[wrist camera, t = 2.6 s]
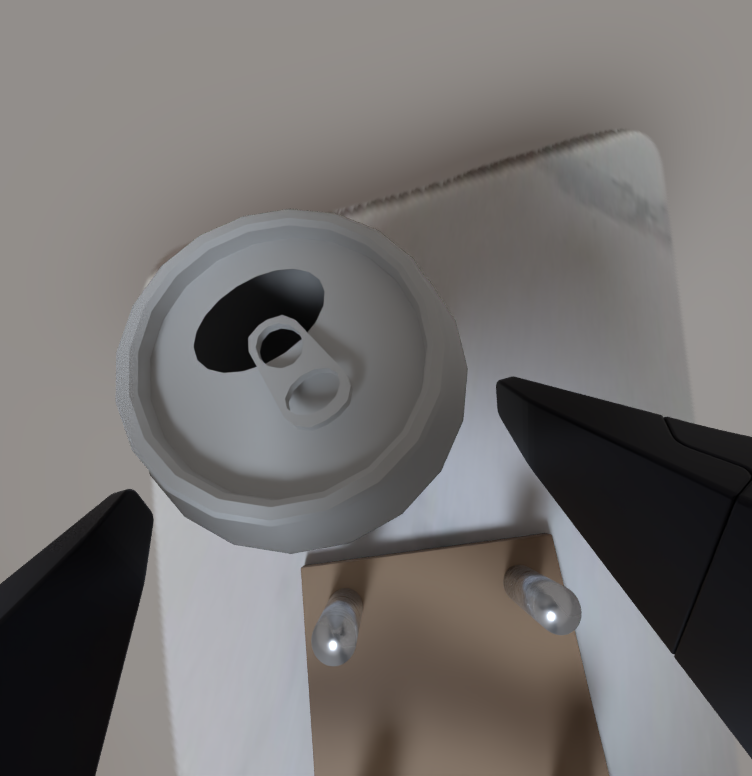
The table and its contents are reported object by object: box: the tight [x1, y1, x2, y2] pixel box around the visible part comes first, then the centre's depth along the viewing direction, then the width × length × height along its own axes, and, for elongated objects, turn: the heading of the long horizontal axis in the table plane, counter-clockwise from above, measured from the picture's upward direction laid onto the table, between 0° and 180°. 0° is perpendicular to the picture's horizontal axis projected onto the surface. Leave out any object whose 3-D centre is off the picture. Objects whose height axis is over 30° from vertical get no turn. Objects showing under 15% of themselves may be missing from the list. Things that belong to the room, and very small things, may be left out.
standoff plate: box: [301, 533, 609, 776], centre depth 13 cm, size 11×11×4 cm
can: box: [116, 209, 468, 554], centre depth 12 cm, size 8×8×12 cm
